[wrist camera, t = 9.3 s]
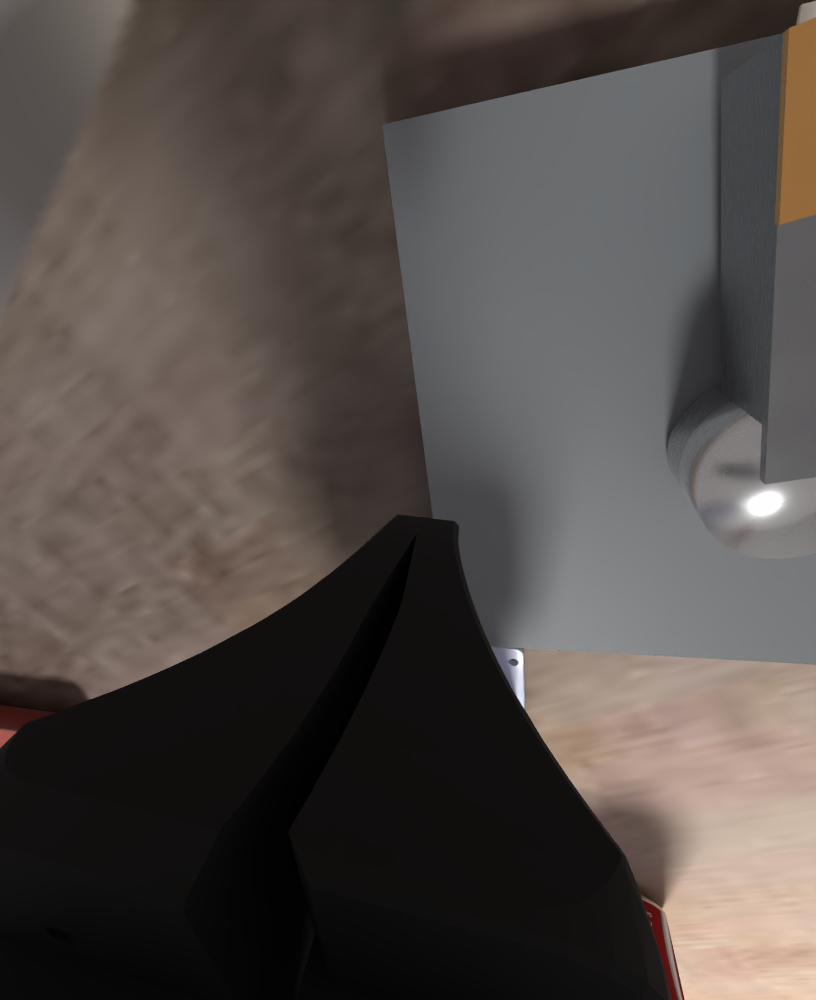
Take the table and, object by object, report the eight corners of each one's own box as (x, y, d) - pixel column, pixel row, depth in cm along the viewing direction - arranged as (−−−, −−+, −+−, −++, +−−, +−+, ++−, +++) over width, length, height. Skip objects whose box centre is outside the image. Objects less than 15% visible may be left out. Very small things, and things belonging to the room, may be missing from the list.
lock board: (972, 644, 18) (1009, 677, 17) (452, 621, 23) (448, 645, 22) (1445, -125, 9) (1615, -190, 7) (392, 118, 14) (378, 105, 12)
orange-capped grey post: (871, 25, 10) (1035, -72, 7) (820, 491, 15) (901, 559, 12) (648, 111, 11) (698, 64, 8) (670, 512, 16) (706, 577, 13)
